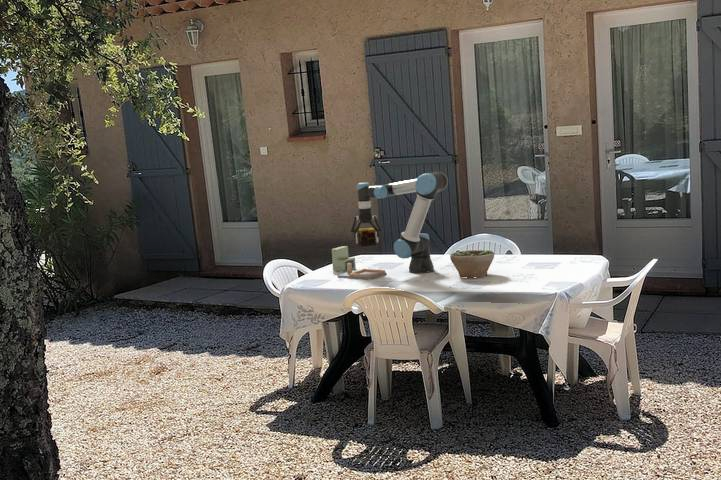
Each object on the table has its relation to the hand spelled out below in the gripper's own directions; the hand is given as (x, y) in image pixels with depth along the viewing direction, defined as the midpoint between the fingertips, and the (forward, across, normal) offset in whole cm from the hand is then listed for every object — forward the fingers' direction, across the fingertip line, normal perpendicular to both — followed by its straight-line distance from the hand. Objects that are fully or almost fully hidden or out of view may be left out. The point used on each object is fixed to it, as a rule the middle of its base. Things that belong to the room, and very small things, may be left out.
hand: (367, 242), depth 483 cm
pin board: (+18, +1, +13) cm, 22 cm away
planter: (+19, -67, +16) cm, 71 cm away
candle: (+2, 0, 0) cm, 2 cm away
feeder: (+18, +19, -8) cm, 27 cm away
